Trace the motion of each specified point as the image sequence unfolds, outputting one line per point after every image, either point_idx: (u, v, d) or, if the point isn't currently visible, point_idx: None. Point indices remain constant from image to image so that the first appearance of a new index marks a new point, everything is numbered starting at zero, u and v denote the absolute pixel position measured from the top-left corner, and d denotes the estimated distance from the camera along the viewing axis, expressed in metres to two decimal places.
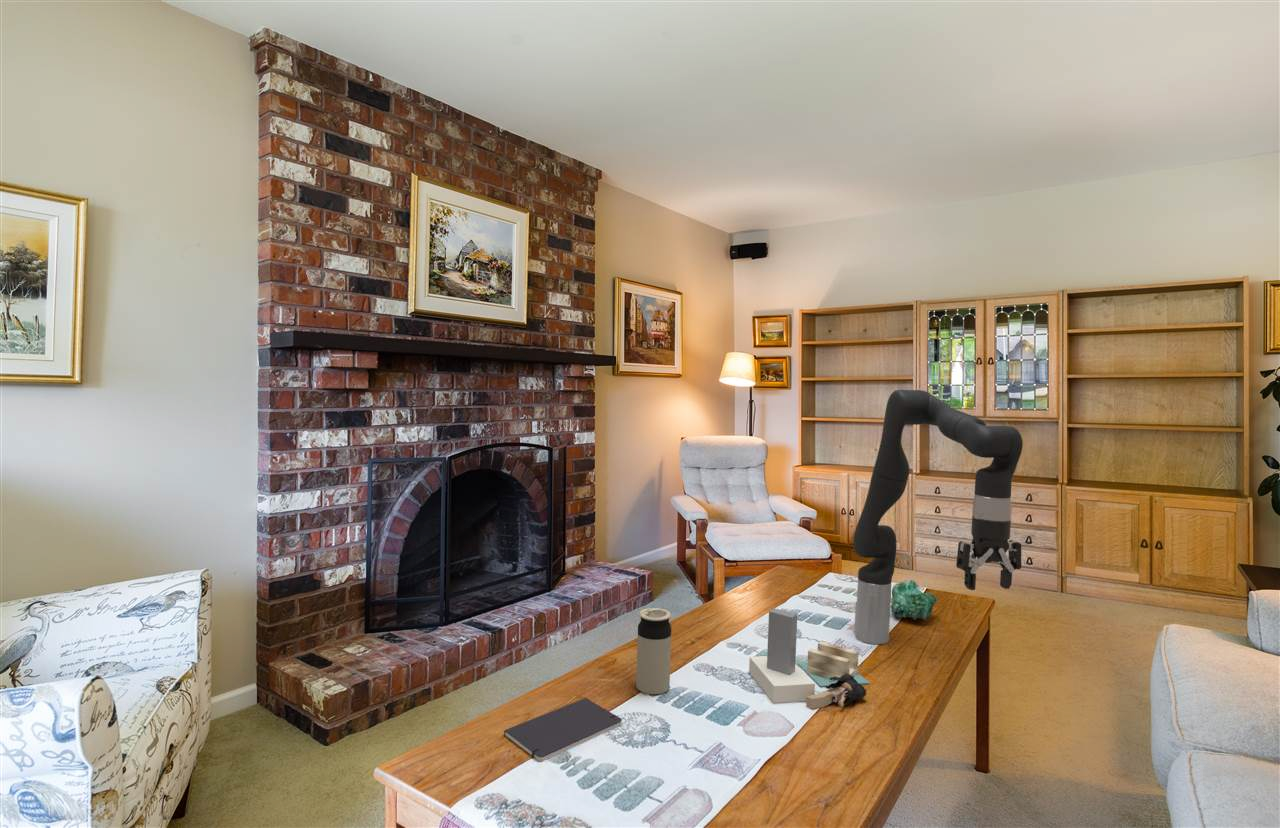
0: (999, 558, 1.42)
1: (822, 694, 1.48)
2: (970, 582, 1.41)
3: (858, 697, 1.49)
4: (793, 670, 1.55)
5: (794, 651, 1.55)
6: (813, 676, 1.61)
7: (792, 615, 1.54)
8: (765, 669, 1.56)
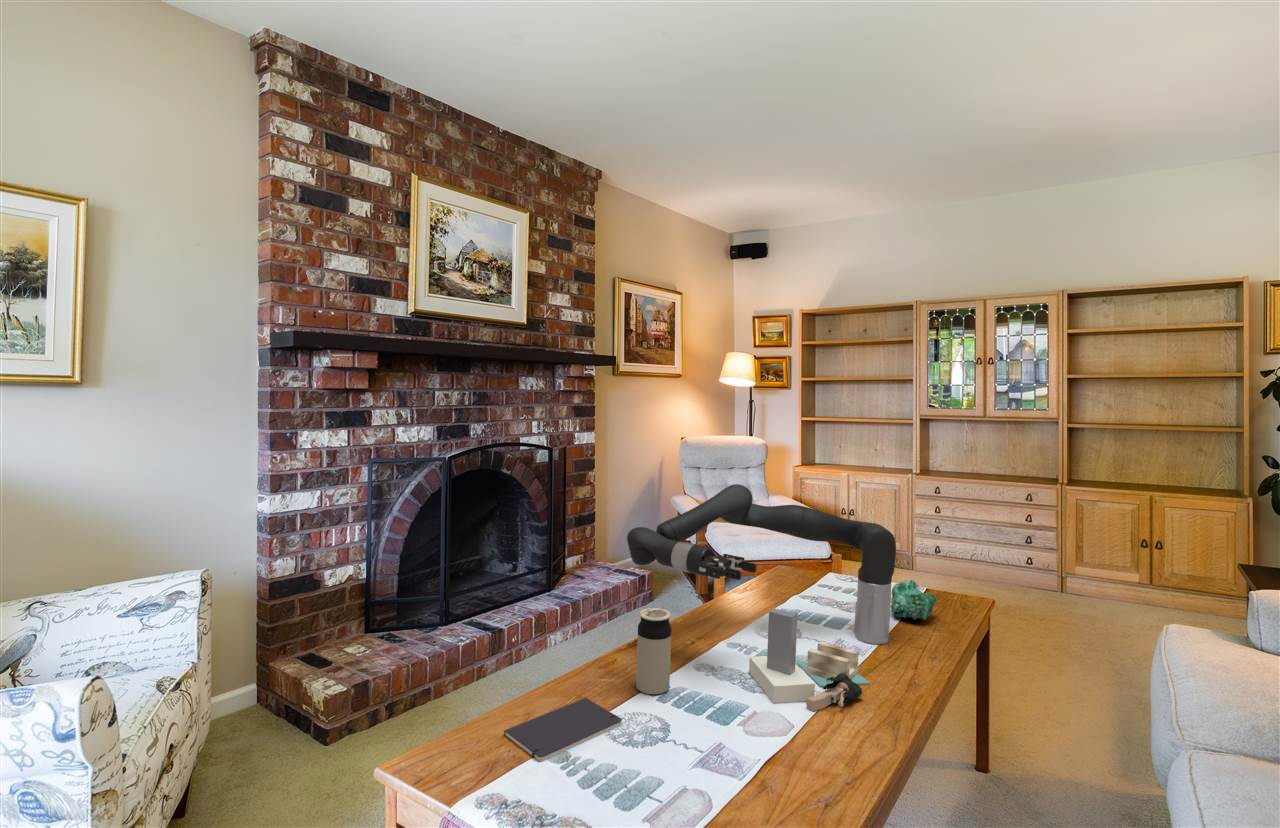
0: None
1: (821, 695, 1.47)
2: None
3: (855, 696, 1.49)
4: (793, 670, 1.55)
5: (794, 651, 1.55)
6: (813, 676, 1.61)
7: (792, 615, 1.54)
8: (765, 669, 1.56)
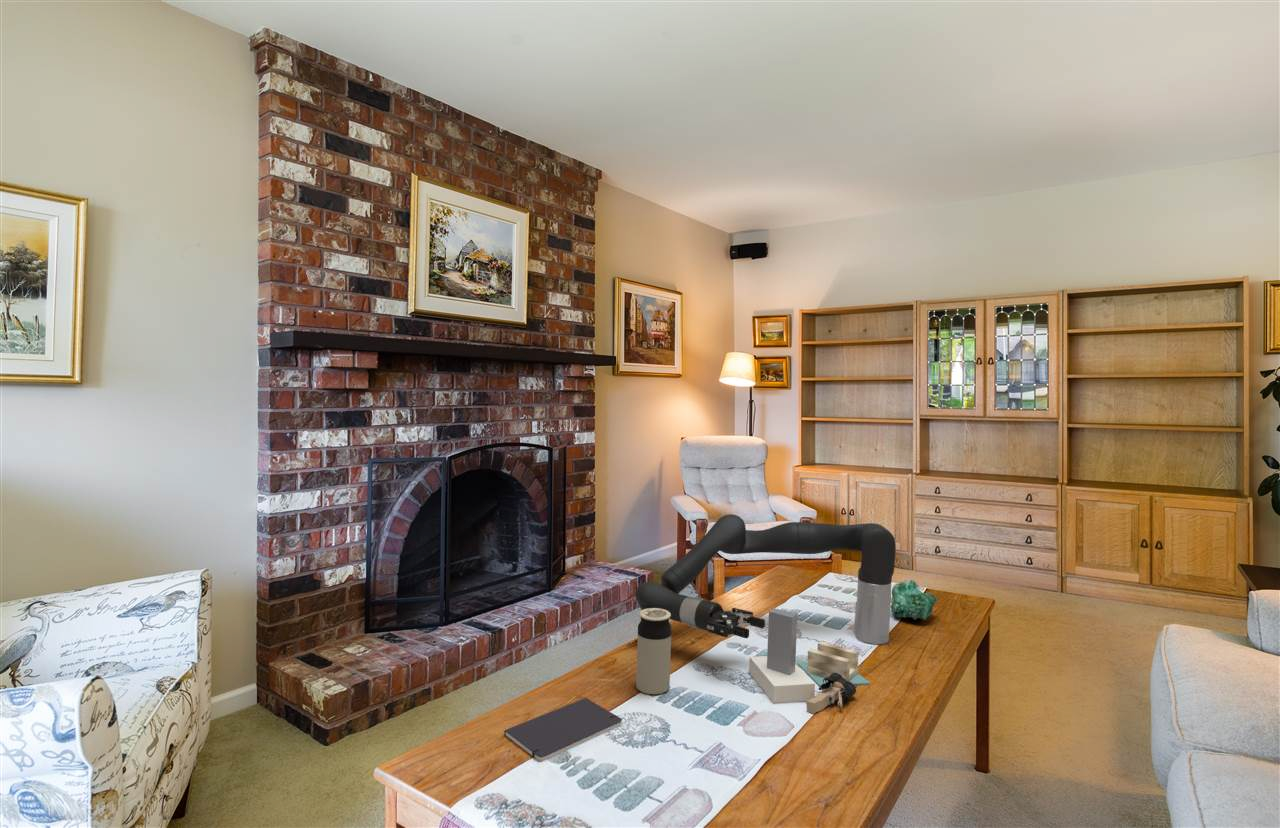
0: None
1: (820, 696, 1.46)
2: None
3: (850, 694, 1.50)
4: (793, 670, 1.55)
5: (794, 651, 1.55)
6: (813, 676, 1.61)
7: (792, 615, 1.54)
8: (765, 669, 1.56)
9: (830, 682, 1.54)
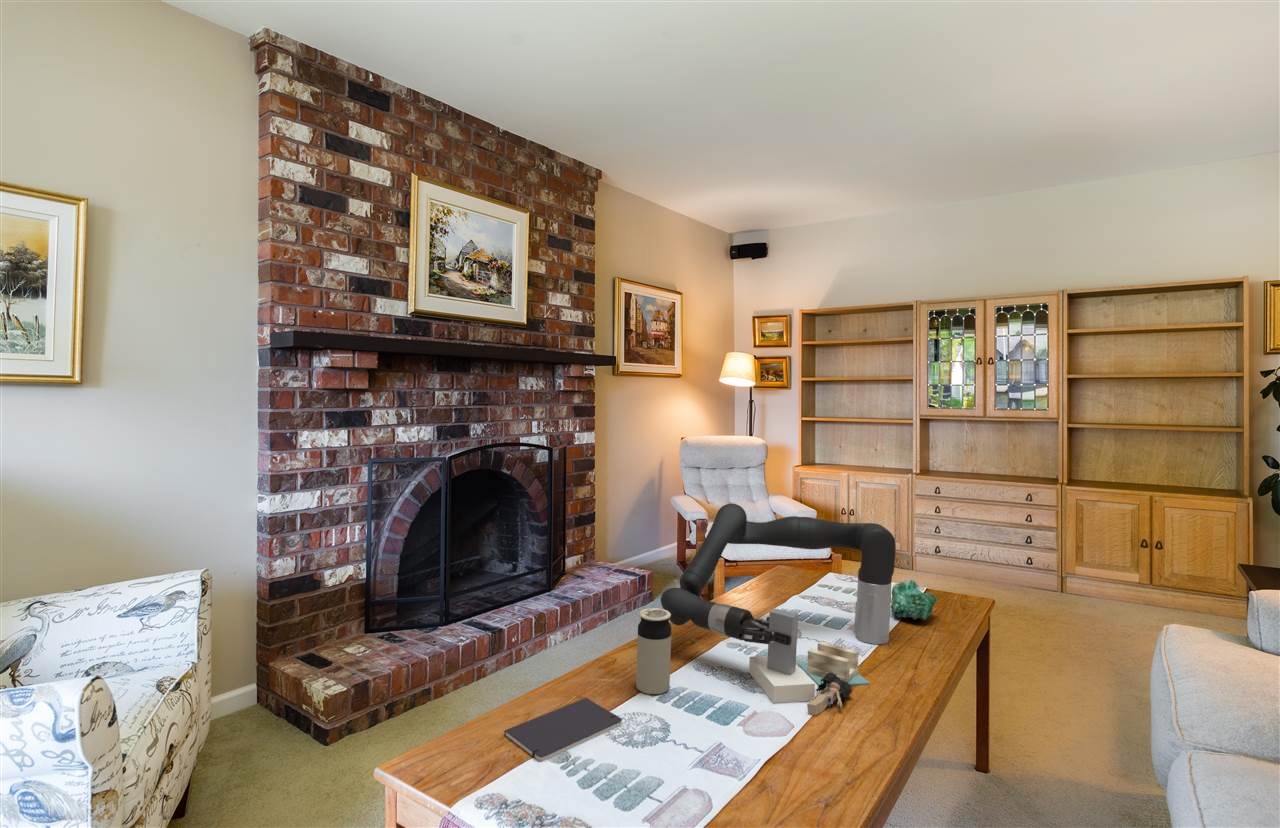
0: None
1: (819, 698, 1.46)
2: None
3: (847, 694, 1.50)
4: (793, 670, 1.55)
5: (795, 651, 1.55)
6: (813, 676, 1.61)
7: (793, 615, 1.54)
8: (765, 669, 1.56)
9: (826, 682, 1.54)
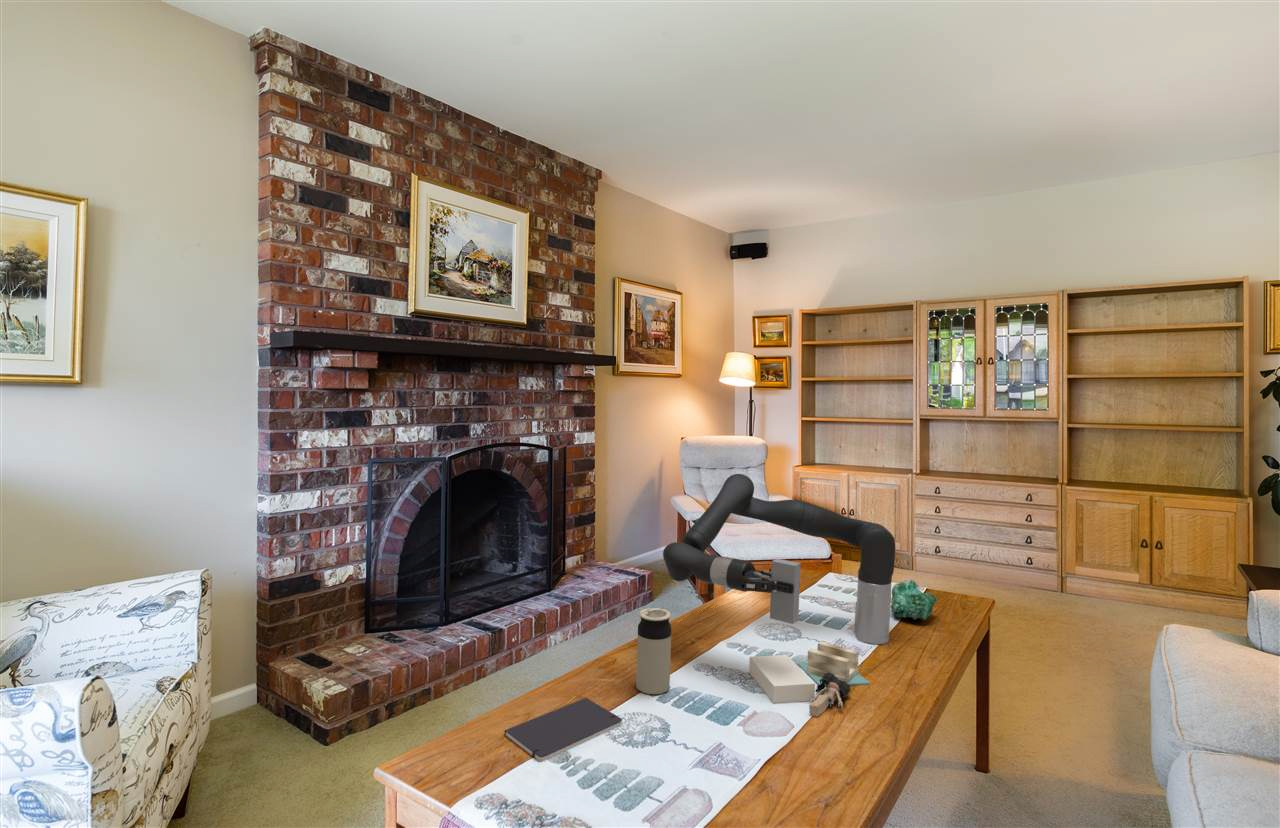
0: None
1: (820, 699, 1.45)
2: None
3: (846, 694, 1.50)
4: (796, 619, 1.54)
5: (797, 600, 1.54)
6: (813, 676, 1.61)
7: (795, 564, 1.53)
8: (765, 669, 1.56)
9: (824, 683, 1.53)
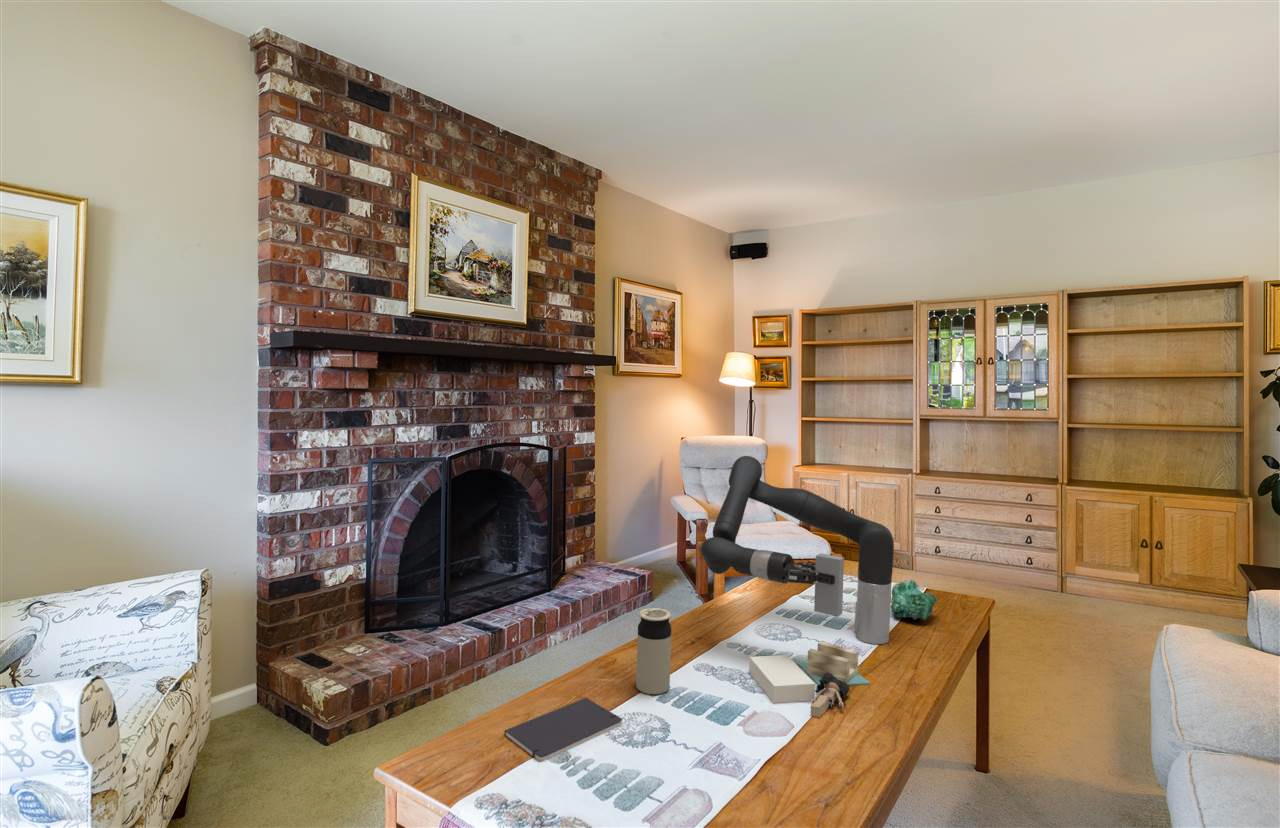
0: None
1: (821, 699, 1.45)
2: None
3: None
4: (840, 612, 1.59)
5: (841, 593, 1.58)
6: (813, 676, 1.61)
7: (839, 558, 1.58)
8: (765, 669, 1.56)
9: (823, 683, 1.53)
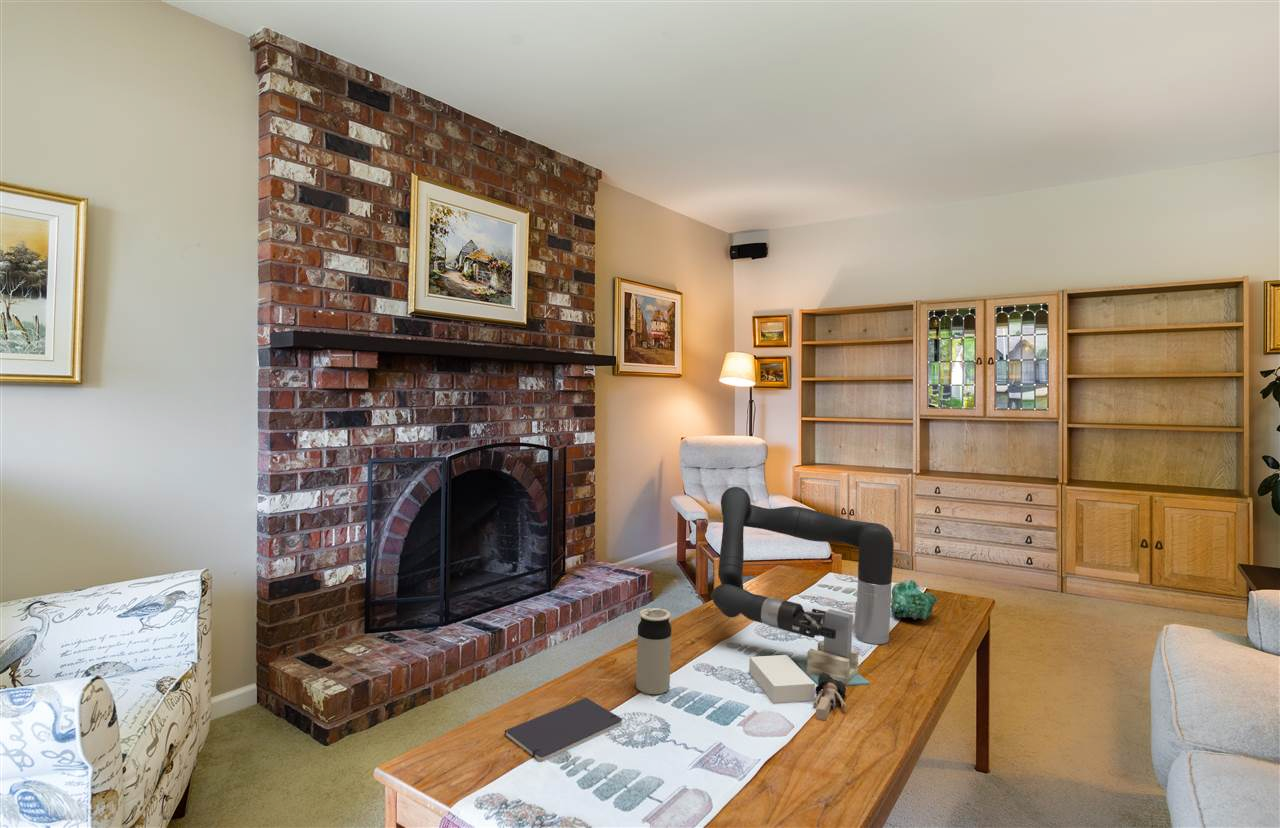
0: None
1: (824, 701, 1.44)
2: None
3: None
4: None
5: (850, 650, 1.62)
6: (813, 676, 1.61)
7: (848, 615, 1.61)
8: (765, 669, 1.56)
9: (820, 684, 1.53)
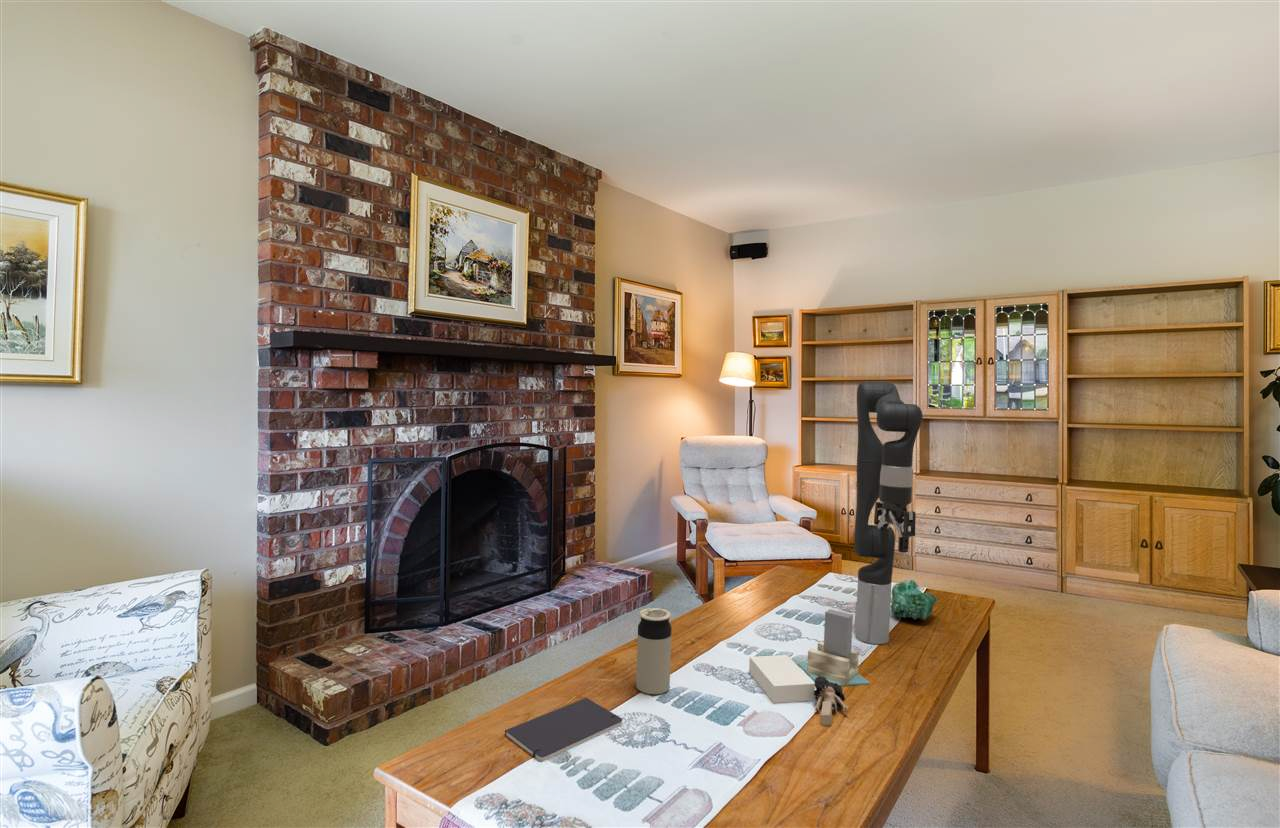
0: None
1: (826, 706, 1.42)
2: None
3: (840, 696, 1.49)
4: None
5: (850, 650, 1.62)
6: (813, 676, 1.61)
7: (848, 615, 1.61)
8: (765, 669, 1.56)
9: (816, 687, 1.51)
